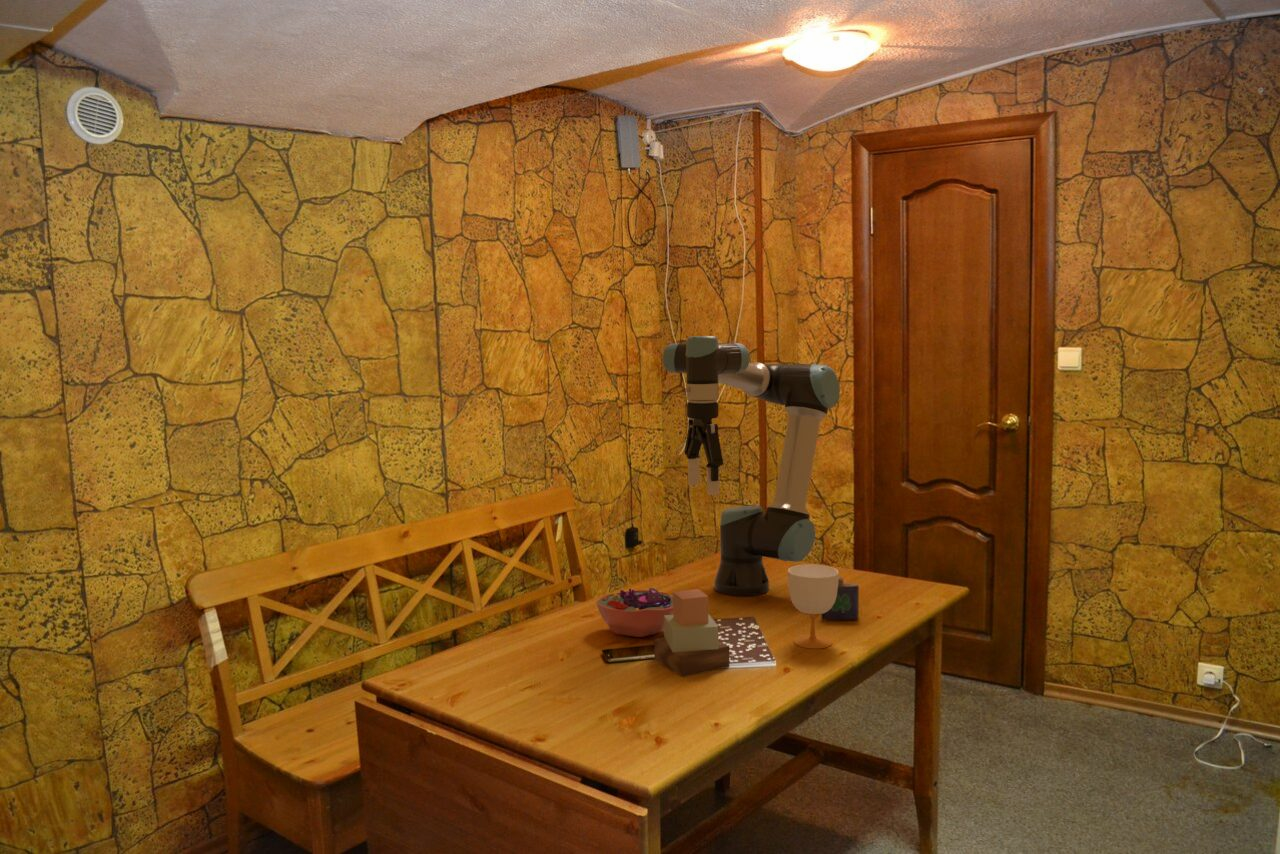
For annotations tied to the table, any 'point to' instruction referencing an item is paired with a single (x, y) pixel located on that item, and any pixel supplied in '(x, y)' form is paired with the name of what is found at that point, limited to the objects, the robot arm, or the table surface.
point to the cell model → (635, 611)
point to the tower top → (690, 635)
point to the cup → (813, 597)
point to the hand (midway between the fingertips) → (703, 489)
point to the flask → (844, 603)
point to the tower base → (691, 658)
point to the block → (690, 607)
